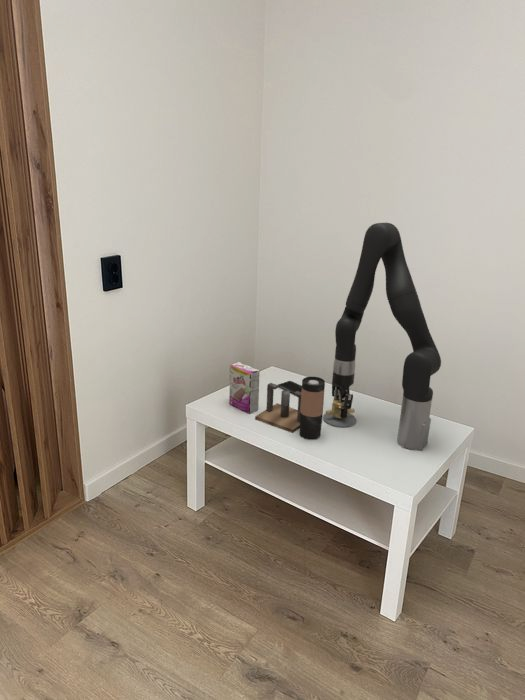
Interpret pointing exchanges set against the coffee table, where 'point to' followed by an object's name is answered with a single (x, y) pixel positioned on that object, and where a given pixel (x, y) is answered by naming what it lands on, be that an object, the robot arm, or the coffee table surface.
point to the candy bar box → (244, 387)
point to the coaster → (340, 421)
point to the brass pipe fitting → (338, 409)
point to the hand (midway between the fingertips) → (340, 413)
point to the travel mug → (311, 407)
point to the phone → (290, 387)
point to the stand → (281, 411)
